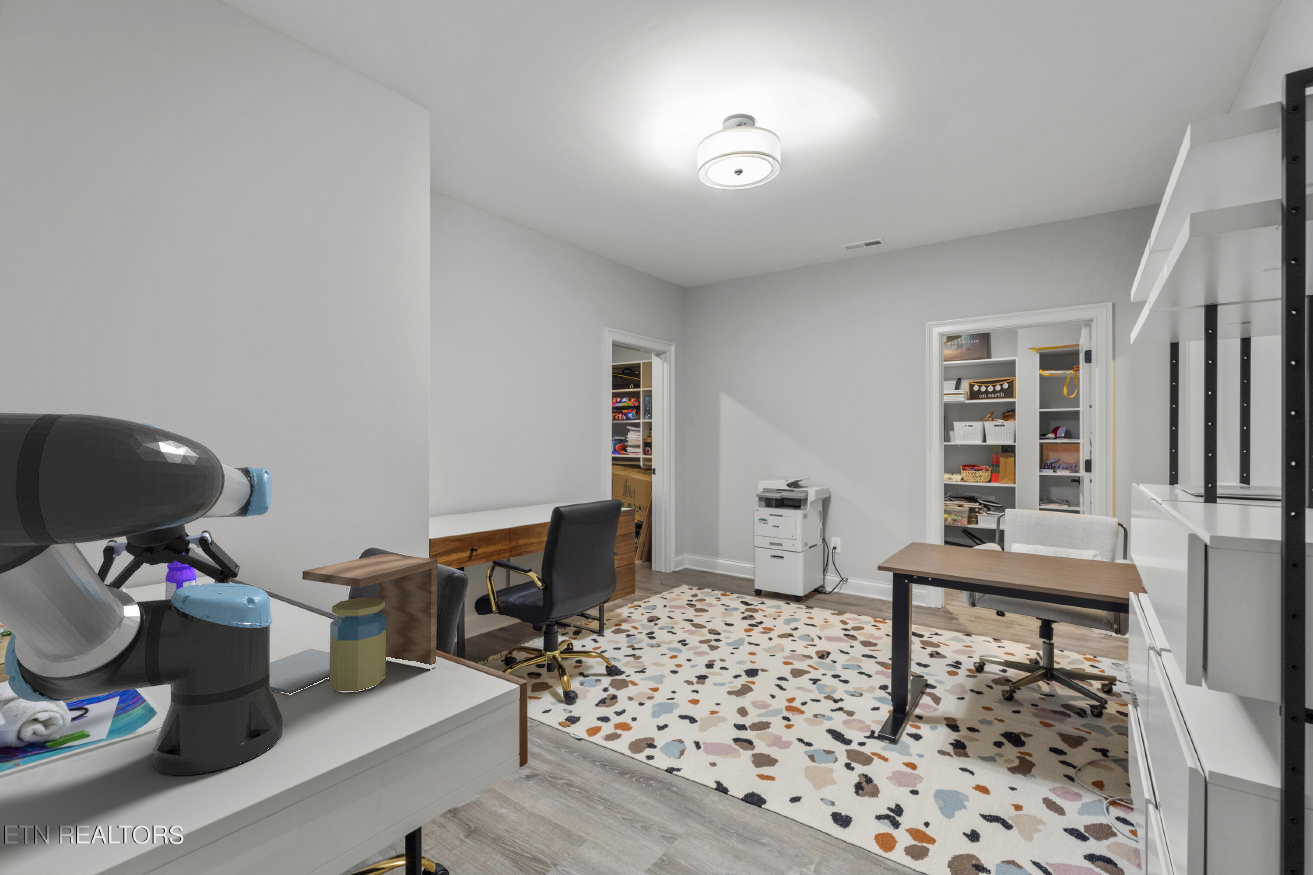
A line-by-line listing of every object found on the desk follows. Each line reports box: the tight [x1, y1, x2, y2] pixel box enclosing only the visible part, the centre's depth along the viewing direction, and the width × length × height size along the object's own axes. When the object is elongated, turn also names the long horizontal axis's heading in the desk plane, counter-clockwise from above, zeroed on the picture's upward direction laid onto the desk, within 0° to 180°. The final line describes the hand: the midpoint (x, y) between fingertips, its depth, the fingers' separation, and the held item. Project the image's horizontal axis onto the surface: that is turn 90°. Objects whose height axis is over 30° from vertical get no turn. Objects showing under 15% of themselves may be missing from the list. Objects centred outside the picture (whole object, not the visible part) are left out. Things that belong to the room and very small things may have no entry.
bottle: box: [164, 545, 198, 600], centre depth 147 cm, size 7×6×17 cm
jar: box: [328, 597, 387, 693], centre depth 107 cm, size 9×9×15 cm
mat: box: [270, 648, 330, 694], centre depth 113 cm, size 16×16×1 cm
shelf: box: [301, 553, 439, 665], centre depth 110 cm, size 14×18×22 cm
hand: (176, 615), depth 104 cm, fingers open, 13 cm apart
